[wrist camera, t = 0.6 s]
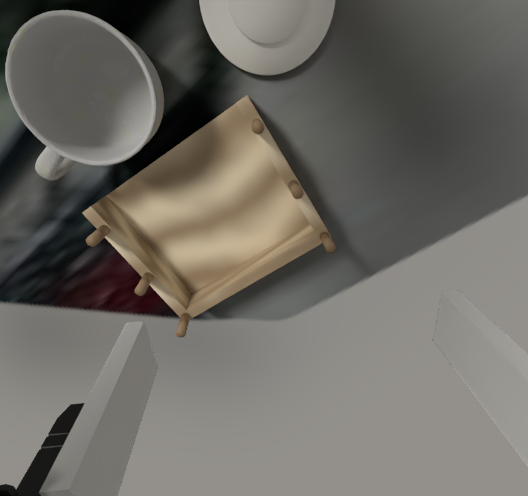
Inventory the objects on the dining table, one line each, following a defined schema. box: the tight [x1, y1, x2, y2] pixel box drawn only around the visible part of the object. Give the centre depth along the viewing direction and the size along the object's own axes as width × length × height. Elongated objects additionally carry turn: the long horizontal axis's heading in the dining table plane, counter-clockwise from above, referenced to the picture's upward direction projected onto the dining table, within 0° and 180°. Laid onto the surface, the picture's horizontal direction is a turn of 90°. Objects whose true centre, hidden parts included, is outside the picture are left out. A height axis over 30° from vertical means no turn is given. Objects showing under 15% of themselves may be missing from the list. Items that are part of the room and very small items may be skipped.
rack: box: [82, 95, 336, 337], centre depth 34 cm, size 16×19×8 cm
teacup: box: [5, 10, 164, 180], centre depth 29 cm, size 14×11×8 cm
